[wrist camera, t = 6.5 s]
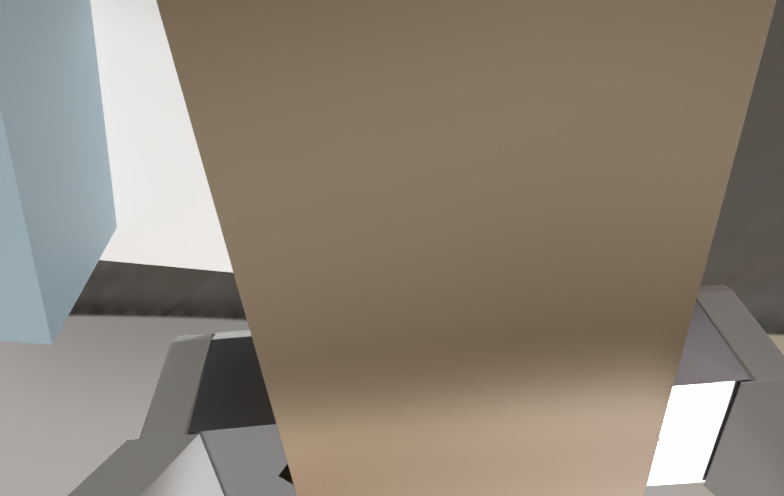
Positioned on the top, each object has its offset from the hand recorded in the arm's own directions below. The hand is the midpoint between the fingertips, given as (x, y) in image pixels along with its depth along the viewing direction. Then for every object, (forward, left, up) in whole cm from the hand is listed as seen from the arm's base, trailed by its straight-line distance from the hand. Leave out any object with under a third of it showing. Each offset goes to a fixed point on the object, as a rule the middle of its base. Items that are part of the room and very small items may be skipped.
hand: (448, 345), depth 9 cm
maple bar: (0, 0, -2) cm, 2 cm away
